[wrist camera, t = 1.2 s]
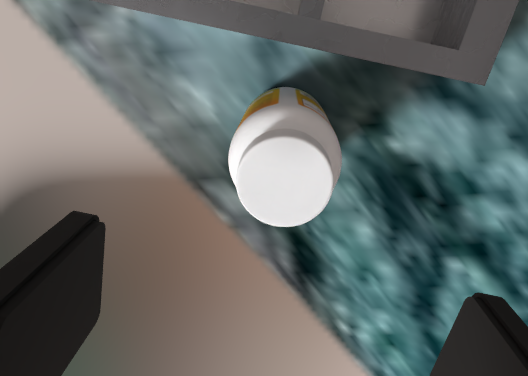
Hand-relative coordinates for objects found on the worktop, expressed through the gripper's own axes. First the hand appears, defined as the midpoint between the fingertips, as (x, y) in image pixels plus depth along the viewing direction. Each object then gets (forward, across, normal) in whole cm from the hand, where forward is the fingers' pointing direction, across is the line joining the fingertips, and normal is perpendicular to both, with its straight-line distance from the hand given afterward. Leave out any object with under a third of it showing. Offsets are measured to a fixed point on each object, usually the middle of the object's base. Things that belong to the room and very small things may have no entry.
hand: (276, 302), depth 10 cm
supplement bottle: (+16, 0, -1) cm, 16 cm away
